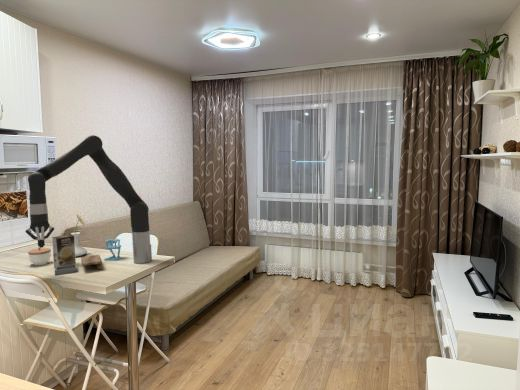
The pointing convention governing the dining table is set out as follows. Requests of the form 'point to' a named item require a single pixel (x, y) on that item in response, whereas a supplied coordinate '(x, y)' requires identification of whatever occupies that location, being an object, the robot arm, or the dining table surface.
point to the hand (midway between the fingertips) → (41, 247)
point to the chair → (113, 248)
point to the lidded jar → (40, 256)
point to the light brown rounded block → (92, 261)
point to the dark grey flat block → (65, 269)
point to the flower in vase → (78, 248)
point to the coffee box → (63, 250)
